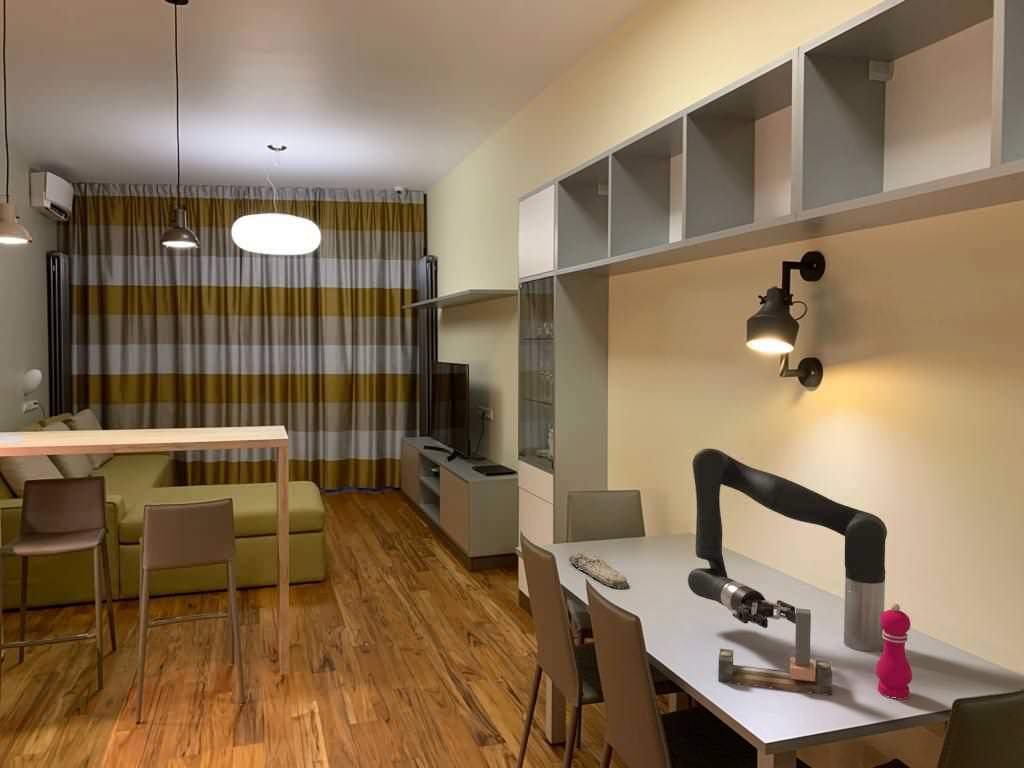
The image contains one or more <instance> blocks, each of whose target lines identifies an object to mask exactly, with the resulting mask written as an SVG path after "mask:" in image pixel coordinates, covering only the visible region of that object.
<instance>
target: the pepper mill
mask: <svg viewBox="0 0 1024 768" xmlns="http://www.w3.org/2000/svg"><path fill="white" fill-rule="evenodd" d="M890 608H891V609H887V610H884V611H885V612H884V613H883V614H882V615H881V618H880V624H881V626H882V628H883V629H884V630H883V631H882V633H883V635H882V637H883V638H884V642H885V646H884V651H882V654H881V656H880V657H879V660H878V661H877V664H876V667H875V674H876V676H877V678H878V680H879V681H878V682H877V691H879V692H880V693H881V694H880V693H879V692H878V693H879V694H880V695H882V694H883V695H882V696H884V695H886V696H889V697H896V698H905V697H908V696H909V697H910V687H909V684H910V683H911V682H912V681H913V671H912V667H911V666H910V663H909V660H908V657H907V656H906V651H905V650H906V646H905V645H906V643H907V642H908V640H909V639H908V634H907V632H909V631H910V629H911V619H910V617H909V615H907V614H906V613H905V611H904V612H903V611H901V606H900V605H899V604H898V603H895V602H894V603H892V604H891V607H890ZM886 696H885V697H886ZM889 697H888V698H889ZM909 697H908V698H909ZM905 699H906V698H905Z"/></svg>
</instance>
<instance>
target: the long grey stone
mask: <svg viewBox="0 0 1024 768" xmlns="http://www.w3.org/2000/svg"><path fill="white" fill-rule="evenodd" d="M568 562H570V563H571V564H572V563H573V564H574V565H575V566H577V567H578V568H580V569H582V570H583V571H584V572H586V573H588V574H587V575H589V576H590V577H591V578H593V577H594V578H593V579H596V580H597V581H598V580H599V581H601V582H602V583H601V582H600V583H601V584H602V585H604V584H606V585H605V586H607V587H610V586H611V587H610V588H612V587H617V588H616V589H620V588H621V587H625V588H627V587H628V581H627V580H628V579H627V577H625V576H624V575H623V574H621V573H620V572H619V571H617V570H616V569H613V568H612V567H611V566H610V565H608V564H607V562H605V560H604V559H600V558H599V557H596V556H593V555H589V554H586V553H583V552H572V553H570V554H569V555H568ZM573 564H572V565H573ZM574 565H573V566H574ZM575 566H574V567H575ZM583 571H582V572H583ZM584 572H583V573H584ZM586 573H585V574H586ZM599 581H598V582H599ZM626 586H627V587H626ZM619 587H620V588H619ZM621 589H622V588H621Z"/></svg>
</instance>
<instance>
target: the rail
mask: <svg viewBox="0 0 1024 768" xmlns="http://www.w3.org/2000/svg"><path fill="white" fill-rule="evenodd" d="M814 667H815V681H807V680H799V679H791V676H790V670H788V671H787V670H783V669H782V670H781V669H773V668H765V667H755V666H748V665H747V666H746V665H740V664H739V665H738V664H734V649H727V648H720V649H719V656H718V673H717V675H718V678H717V679H718V681H717V682H719V681H722V682H721V683H727V682H731V683H730V684H735V683H740V684H739V685H743V684H749V685H748V686H751V685H757V686H756V687H759V686H765V687H764V688H767V687H772V688H771V689H774V688H779V689H778V690H782V689H786V690H785V691H790V690H795V691H794V692H798V691H803V692H802V693H806V692H811V693H810V694H814V693H819V694H818V695H822V694H827V695H826V696H830V695H832V696H833V671H832V670H833V669H832V665H831V660H826V659H815V664H814Z"/></svg>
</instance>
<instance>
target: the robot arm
mask: <svg viewBox="0 0 1024 768" xmlns="http://www.w3.org/2000/svg"><path fill="white" fill-rule="evenodd" d="M692 470H693V471H692V472H693V478H694V486H695V496H696V498H695V499H696V519H695V520H696V524H695V525H696V526H695V556H696V558H699V559H701V560H706V561H708V564H709V568H707V567H704V568H703V567H701V568H700V567H699V568H694V569H692V570H691V571H690V572H689V574H688V577H687V585H688V588H689V589H690V591H691V592H693V594H695V595H696V596H698V597H700V598H703V599H707V600H710V601H715V602H717V603H718V604H721V605H722V606H724V607H725V608H727V610H729V611H730V612H732V616H733V617H734V618H735V619H737V620H738V621H740V622H741V623H742V624H749V622H750V624H755V625H758V626H760V627H762V628H763V629H767V628H768V626H769V624H768V623H769V620H768V619H772V620H773V619H774V620H780V619H783V620H787V621H789V622H790V623H793V624H794V625H796V607H795V606H793V605H791V604H789V603H787V602H784V601H783V600H776V603H775V602H770V601H769V600H766V598H765V597H764V596H765V595H763V594H762V593H761V592H760V591H758V590H756V589H754V588H752V587H750V586H749V585H746V584H744V583H741V582H738V581H736V580H734V579H732V578H731V577H728V573H727V569H726V565H725V561H724V556H723V523H722V514H721V504H720V498H721V497H720V496H721V495H720V494H721V487H722V486H725V487H728V488H731V489H733V490H736V491H738V492H740V493H742V494H744V495H745V496H746V497H749V498H751V500H753V501H755V502H757V504H760V505H761V506H763V507H765V508H767V509H768V510H770V511H773V512H775V513H777V514H780V515H781V516H784V517H786V518H789V519H791V520H794V521H797V522H803V523H807V524H811V525H817V526H821V527H823V528H827V529H829V530H831V531H833V532H835V533H837V534H840V536H843V537H844V568H845V569H844V570H845V571H844V572H845V573H844V574H845V576H844V577H845V578H844V579H845V580H844V616H843V617H844V618H843V619H844V622H843V623H844V624H843V643H844V645H845V646H847V647H849V648H851V649H854V650H858V651H861V652H879V651H882V652H883V651H884V646H885V642H884V638H883V637H882V635H883V633H882V631H883V630H884V629H883V628H882V626H881V624H880V618H881V615H882V614H883V613H884V612H885V611H886V610H885V599H886V598H885V596H886V594H885V591H886V589H885V588H886V564H885V563H886V539H887V536H888V528H887V525H886V523H885V522H884V521H883V520H882V519H881V518H880V517H879V516H877V515H876V514H873V513H870V512H867V511H863V510H860V509H857V508H854V507H852V506H848V505H845V504H842V503H839V502H837V501H835V500H833V499H831V498H828V497H826V496H824V495H823V494H820V493H818V492H816V491H815V490H812V489H810V488H807V487H805V486H803V485H802V484H798V483H797V482H794V481H792V480H790V479H787V478H785V477H781V476H779V475H776V474H773V473H770V472H767V471H764V470H760V469H757V468H754V467H751V466H748V465H746V463H745V464H744V463H743V462H741V461H739V460H737V459H736V458H733V457H731V456H730V455H728V454H727V453H725V452H723V451H722V450H719V449H716V448H710V447H709V448H708V447H707V448H703V449H700V450H699V451H698V452H697V453H696V454H695V455H694V457H693V459H692ZM775 610H776V614H775Z"/></svg>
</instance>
